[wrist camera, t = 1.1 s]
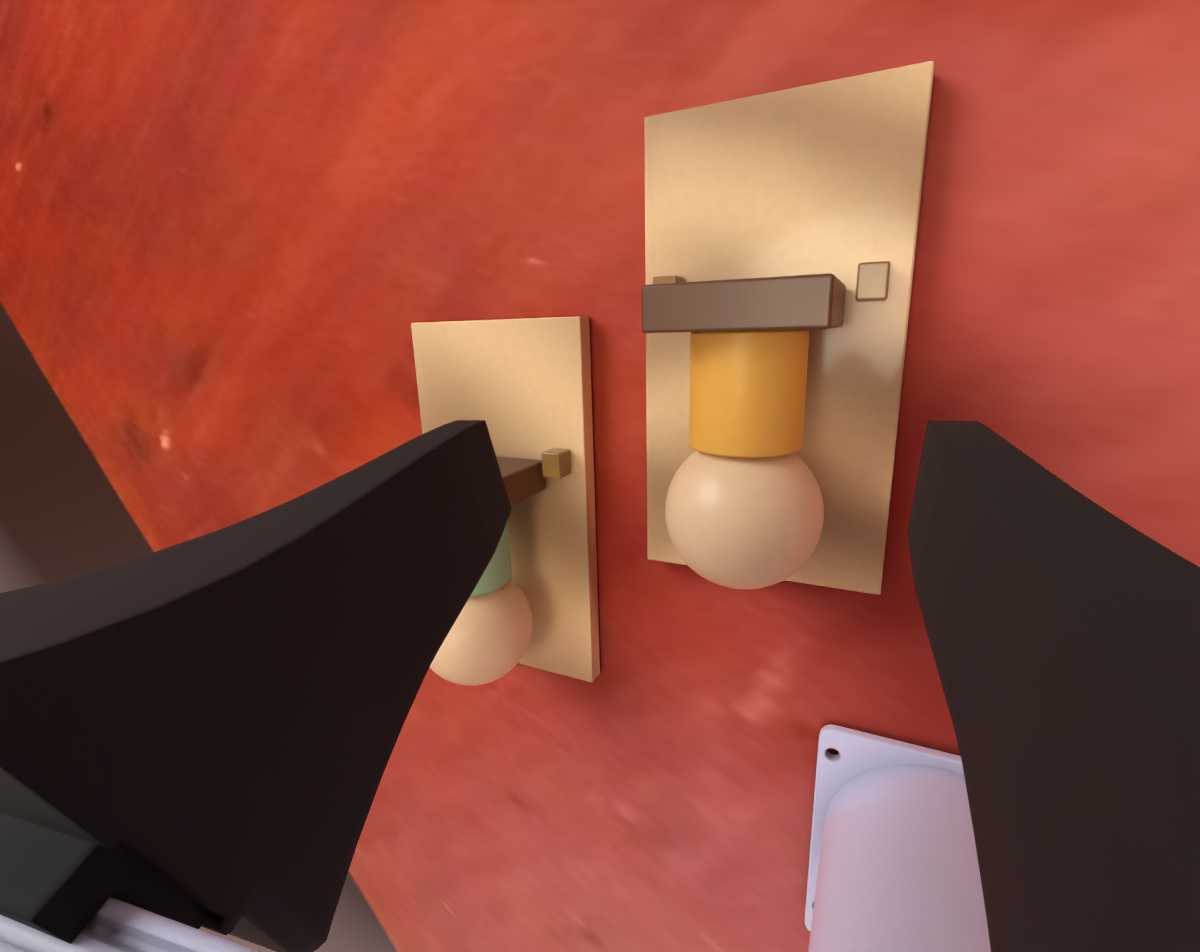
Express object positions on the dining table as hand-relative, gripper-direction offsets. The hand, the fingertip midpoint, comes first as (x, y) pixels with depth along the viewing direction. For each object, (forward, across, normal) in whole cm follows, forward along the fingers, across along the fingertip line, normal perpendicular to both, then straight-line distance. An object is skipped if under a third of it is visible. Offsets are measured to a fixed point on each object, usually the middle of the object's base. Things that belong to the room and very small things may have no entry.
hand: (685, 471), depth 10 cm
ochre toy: (+9, -1, +4) cm, 10 cm away
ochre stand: (+10, -1, +2) cm, 11 cm away
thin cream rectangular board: (+10, +10, +8) cm, 16 cm away
